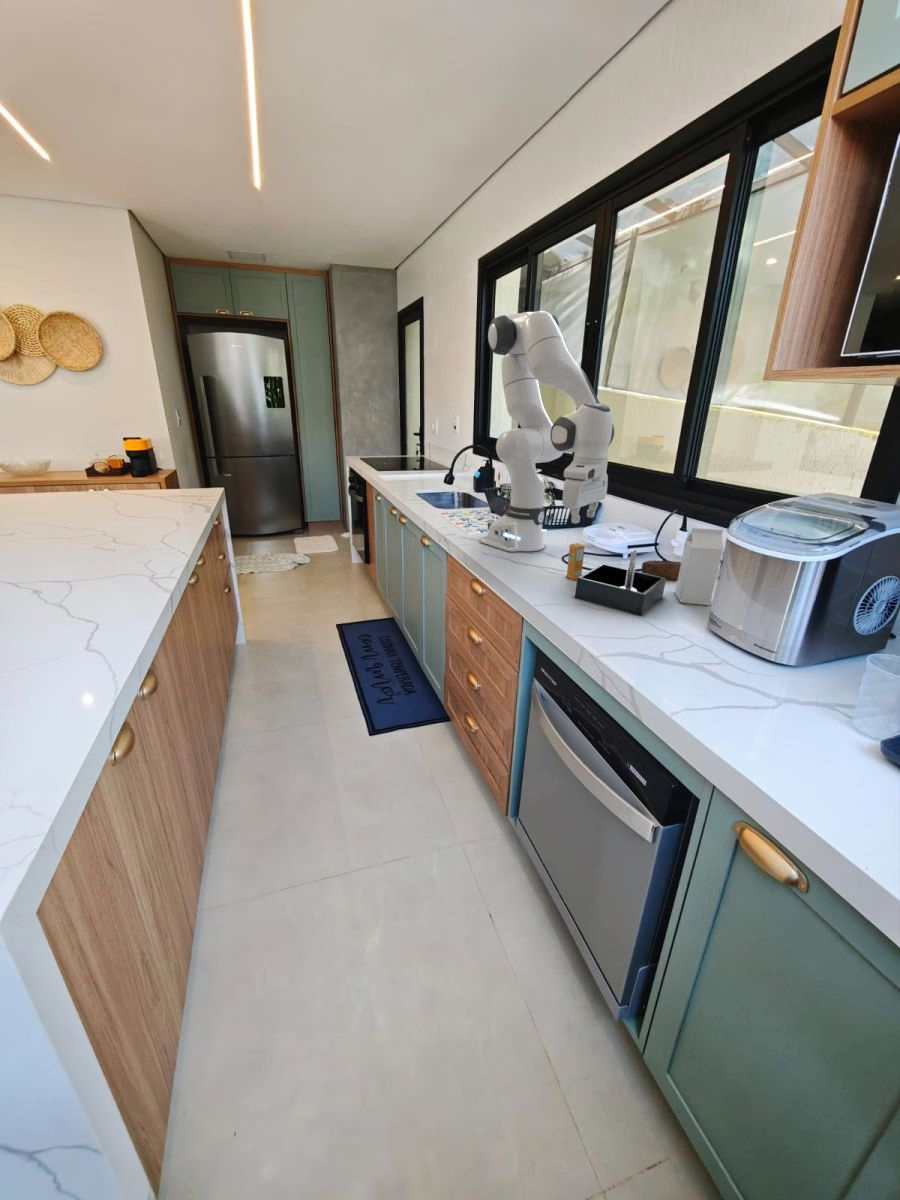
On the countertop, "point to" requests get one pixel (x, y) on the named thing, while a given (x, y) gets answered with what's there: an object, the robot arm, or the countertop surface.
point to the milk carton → (699, 566)
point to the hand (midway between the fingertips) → (582, 519)
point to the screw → (630, 572)
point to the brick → (662, 569)
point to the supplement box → (575, 561)
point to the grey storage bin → (620, 589)
